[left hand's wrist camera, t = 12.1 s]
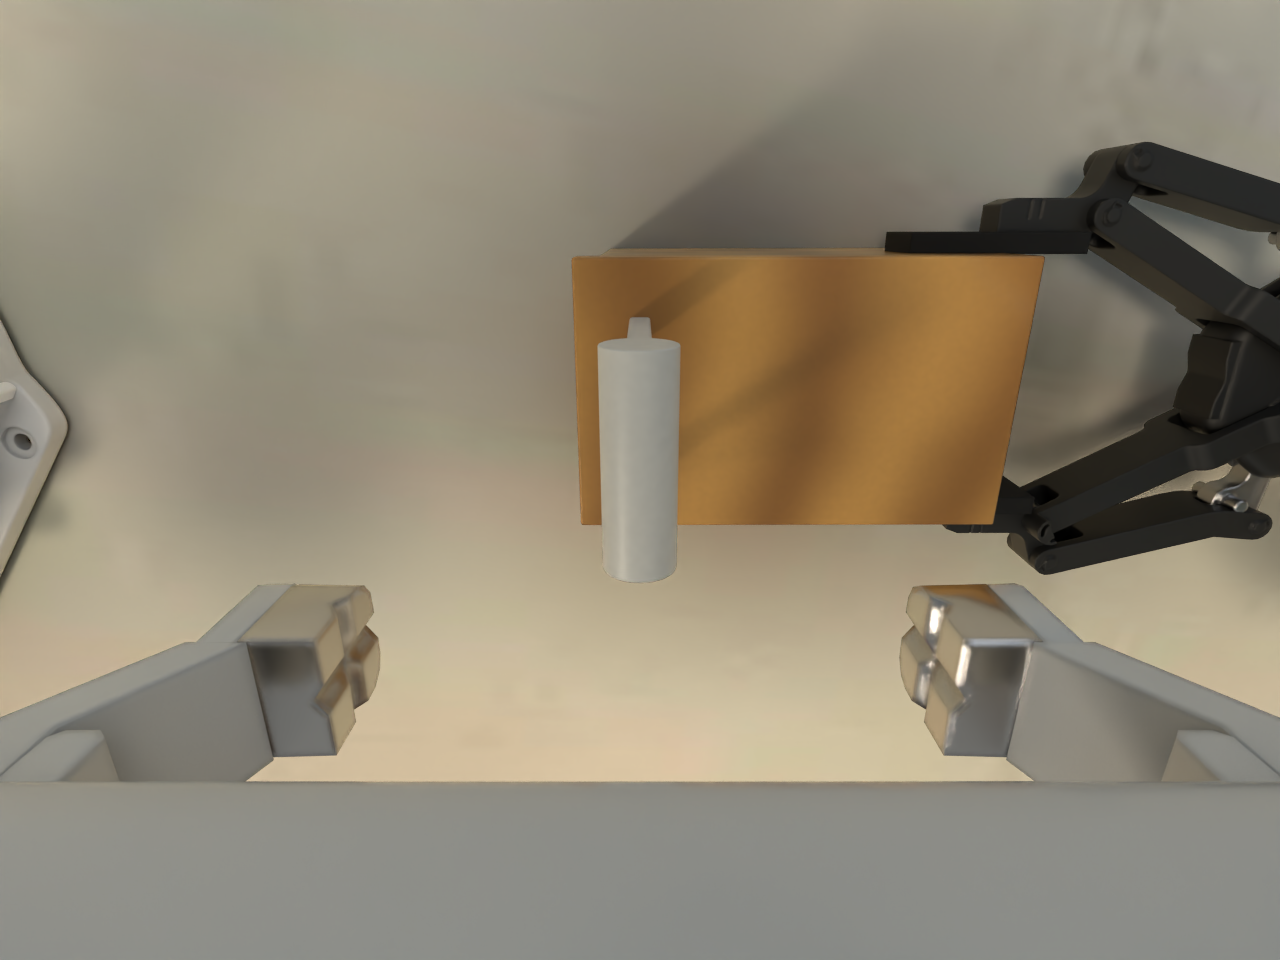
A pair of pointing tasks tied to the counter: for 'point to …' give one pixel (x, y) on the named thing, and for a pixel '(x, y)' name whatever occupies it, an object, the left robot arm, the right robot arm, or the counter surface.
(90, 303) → the counter surface
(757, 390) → the lid
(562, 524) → the counter surface
